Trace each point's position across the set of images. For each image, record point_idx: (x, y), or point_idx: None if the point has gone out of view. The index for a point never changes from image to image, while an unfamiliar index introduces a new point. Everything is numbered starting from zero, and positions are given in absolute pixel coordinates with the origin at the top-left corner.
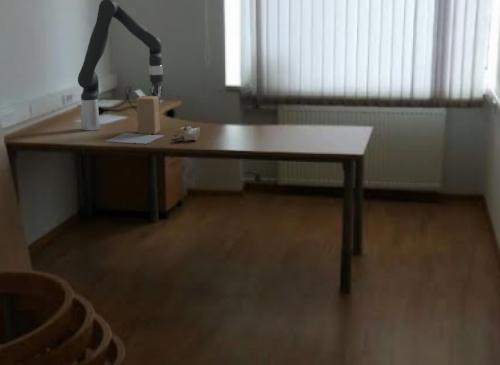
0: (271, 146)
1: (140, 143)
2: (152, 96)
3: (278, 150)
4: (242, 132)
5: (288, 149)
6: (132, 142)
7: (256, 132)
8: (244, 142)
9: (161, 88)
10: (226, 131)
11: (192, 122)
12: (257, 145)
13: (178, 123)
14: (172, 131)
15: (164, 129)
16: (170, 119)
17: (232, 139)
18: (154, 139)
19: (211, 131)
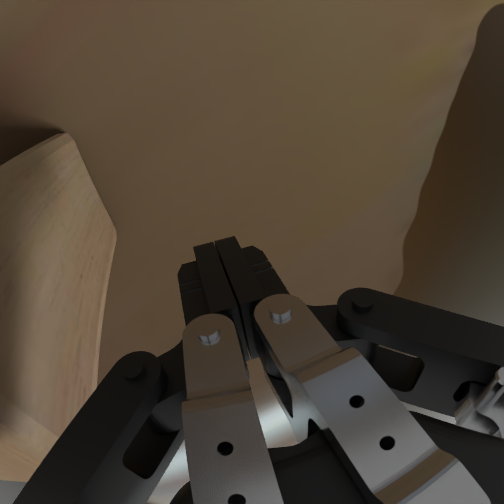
0: (169, 492)
1: None
2: (6, 461)
3: (152, 499)
4: (273, 431)
5: (168, 501)
6: None
7: (285, 441)
8: (167, 474)
9: (459, 422)
10: (271, 410)
11: (412, 217)
12: (160, 486)
13: (383, 168)
14: (163, 288)
15: (190, 210)
16: (450, 77)
17: (177, 458)
18: None
19: (252, 390)
